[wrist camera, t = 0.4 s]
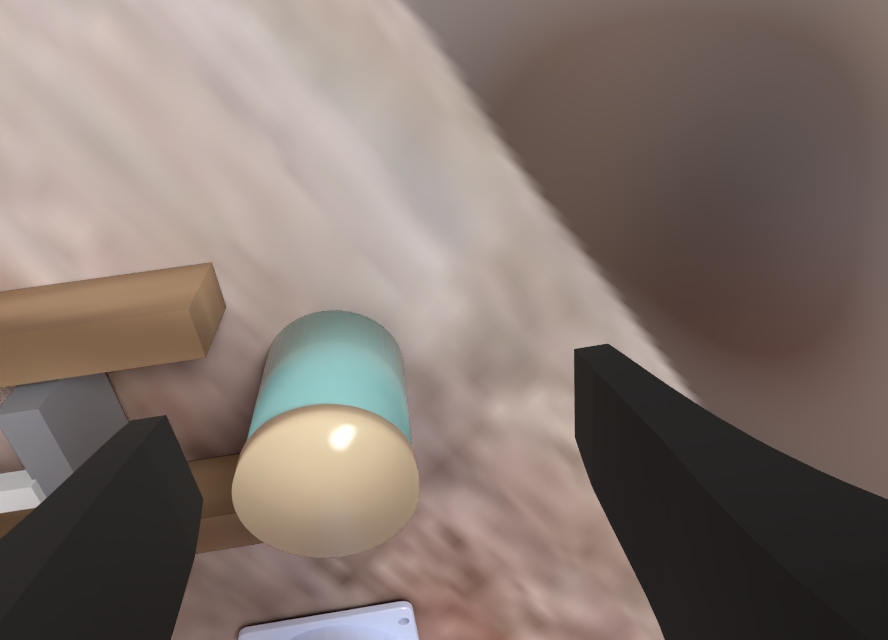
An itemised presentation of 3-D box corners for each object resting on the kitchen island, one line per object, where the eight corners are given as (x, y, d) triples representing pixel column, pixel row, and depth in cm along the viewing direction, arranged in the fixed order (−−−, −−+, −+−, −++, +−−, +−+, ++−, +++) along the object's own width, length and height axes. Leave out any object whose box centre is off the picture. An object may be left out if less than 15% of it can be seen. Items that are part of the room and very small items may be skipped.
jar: (414, 413, 23) (429, 542, 18) (282, 433, 23) (258, 570, 18) (396, 297, 21) (407, 410, 15) (246, 319, 20) (207, 440, 15)
